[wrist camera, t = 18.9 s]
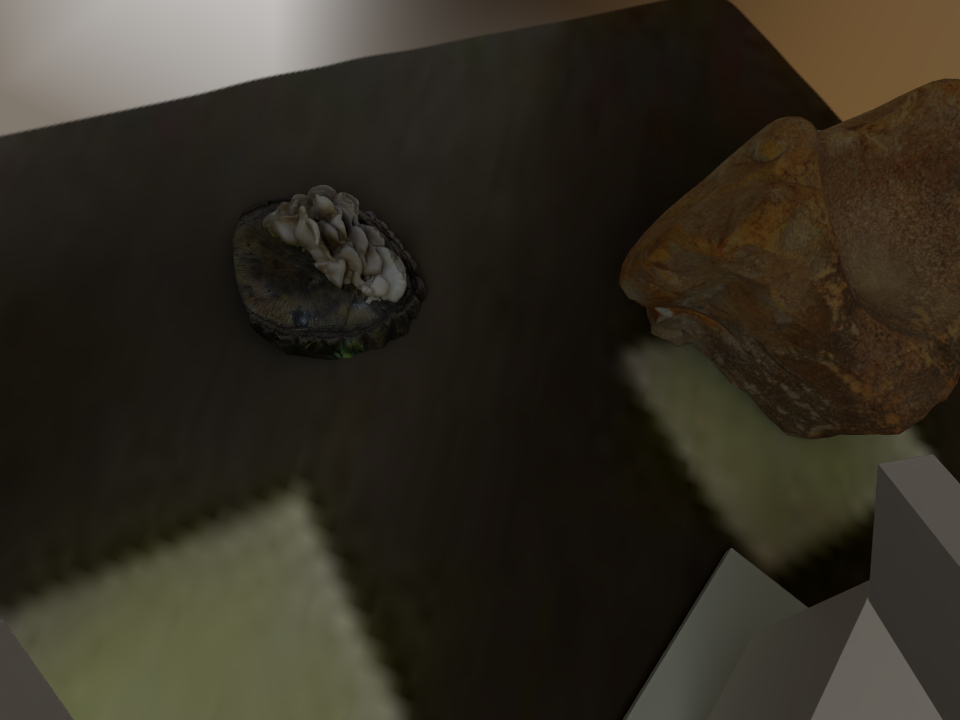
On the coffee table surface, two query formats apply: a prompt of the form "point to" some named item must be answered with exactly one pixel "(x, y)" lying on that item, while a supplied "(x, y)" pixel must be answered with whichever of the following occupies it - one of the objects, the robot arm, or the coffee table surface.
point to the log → (324, 275)
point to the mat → (712, 641)
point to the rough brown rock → (822, 267)
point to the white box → (825, 669)
